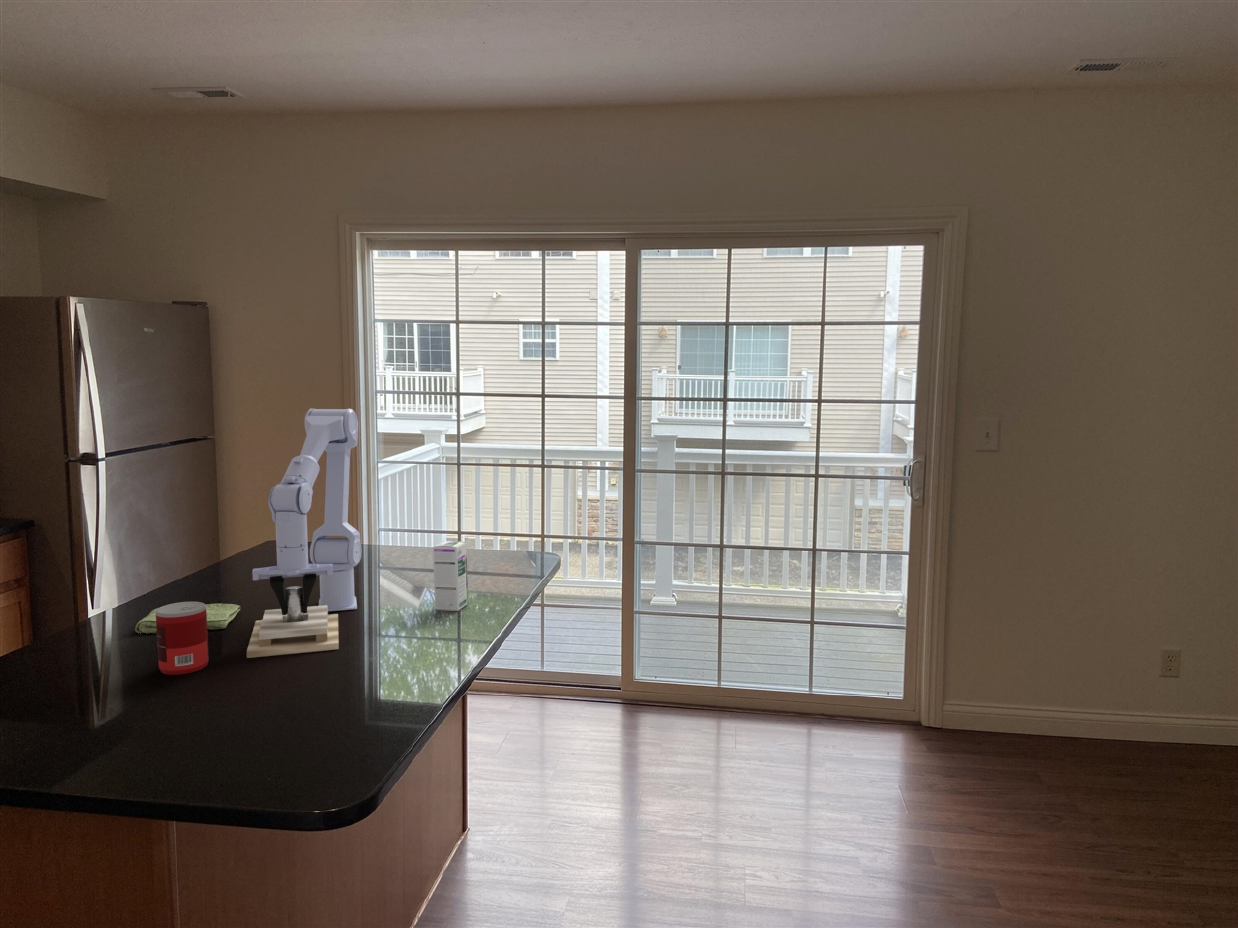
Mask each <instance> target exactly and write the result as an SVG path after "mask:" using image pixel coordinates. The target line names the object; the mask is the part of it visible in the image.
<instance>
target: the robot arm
mask: <svg viewBox="0 0 1238 928" xmlns="http://www.w3.org/2000/svg"><path fill="white" fill-rule="evenodd" d="M303 423H304V429H305V433H306V436H305V439H304V442H303V444H302V449H301V452H300V455H297V456H294V457H292V459H291V460H290V463H289V465H288V467H287V468H286V471H285V473H284V476H283V477H282V479H281V482H280V483H277V484H276V485H275V486H273V487H272V488H271V489H270V492H269V495H268V501H267V502H268V507H269V510H270V512H271V519H272V522H273V523H275V540H276V541H275V544H276V545H275V548H276V565H274V566H266V567H258V568H257V567H256V568H252V572H251V573H252V581H259V580H267V579H268V580H269V586H270V588H271V589H272V591H273V592H274V595H275V597H276V598H277V600H278V603H279V607H280V609H281V611H282V615H286V599H285V589H286V588H285V587H286V585H285V580H286V579H285V578H296V577H297V578H298V577H302V588H303V613H307V607H309V606H308V605H309V600H310V597H311V594H312V592H313V589H314V587H315V585H316V581H317V576H319V592H320V593H319V594H320V595H319V596H320V598H319V600H318V606H323V605H327V606H328V612H336V611H348V610H349V611H350V610H357V609H358V604H357V596H355V569H354V567H356V566H357V565H358V564H359V563H360V561H361V559H362V552H363V551H362V543H361V534H360V531H358V530H357V529H356V528H355V527H354V526H352V525H351V524H350V523H348V522H349V521H348V520H349V519H348V518H349V517H348V516H349V495H350V494H349V491H350V468H351V467H350V466H351V464H350V463H351V461H350V460H351V450H352V449H355V447H357V446H358V439H359V435H358V434H359V420H358V417H357V414H356V412H355V410H353V409H352V408H346V409H345V408H344V409H343V408H342V409H339V408H338V409H337V408H336V409H335V408H333V409H332V408H331V409H330V408H328V409H327V408H324V409H323V408H318V409H317V408H309V409H308V410H307V412H306V413H305V416H304V422H303ZM324 452H326V467H325V468H326V470H325V472H326V473H325V497H324V498H325V499H324V500H325V501H324V521H323V522H324V523H323V524H322V525H321V526H319V527H318V528H316V529H315V530H314V532H313V533H312V539H311V543H310V545H309V546H310V547H309V546H308V543H309V542H308V540H309V539H308V516H307V514H308V512H309V511H310V509H311V507H312V501H313V499H312V497H313V494H314V490H313V486H314V484H315V482H316V480H317V477H318V475H319V473H320V465H319V463H318V462H319V460H320V458H321V457H322V455H323V453H324ZM329 536H332V537H329ZM308 547H309V548H308ZM309 560H310V562H311V563H309Z"/></svg>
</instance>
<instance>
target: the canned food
mask: <svg viewBox="0 0 1238 928" xmlns="http://www.w3.org/2000/svg"><path fill="white" fill-rule="evenodd" d="M157 608H158V609H157V610H156V629H157V633H156V642H157V656H158V658H157V659H158V669H159V671H160V672H161V673H162V674H163V675H169V676H179V675H188V674H191V673H195V672H198V671H199V672H200V670H203V669H204V668H206V667H207V666H208V664H209V659H210V658H209V657H210V656H209V655H210V653H209V636H208V635H209V633H208V632H209V631H208V630H207V613H206V604H205V603H204V602H200V601H181V602H174V603H169V604H166V605H163V606H161V607H157Z"/></svg>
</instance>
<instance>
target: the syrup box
mask: <svg viewBox="0 0 1238 928" xmlns="http://www.w3.org/2000/svg"><path fill="white" fill-rule="evenodd" d="M467 553H468V552H467V542H466V541H459V540H447V541H445V540H444V541H442V542H440V543H438V544H437V545H434V546H432V564H433V565H432V567H433V589H434V593H433V594H434V609H435V610H438V611H446V612H447V611H450V612H459V611H460V610H462V609H463V608H465V606H467V605H469V587H468V581H469V580H468V561H467V559H468V558H467V557H468V556H467V555H468V554H467Z"/></svg>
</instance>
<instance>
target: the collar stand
mask: <svg viewBox="0 0 1238 928" xmlns="http://www.w3.org/2000/svg"><path fill="white" fill-rule="evenodd" d="M339 642H340V641H339V614H338V613H333V614H332V613H331V614H329V611H328V606H327V605H323V606H319V605H313V606H312V605H311V606H307V613H304V621H301V622H289V623H286V615H282V611H281V608H275V609H265V610H264V614H263V618H262V619H261V620H255V621H254V625H253V630H252V632H251V636H250V639H249V641H248V646H247V648H246V659H249V658H250V659H252V658H261V657H271V656H283V655H293V654H302V653H312V652H323V651H331V650H332V651H333V650H339V649H340V648H339V646H340V643H339Z"/></svg>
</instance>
